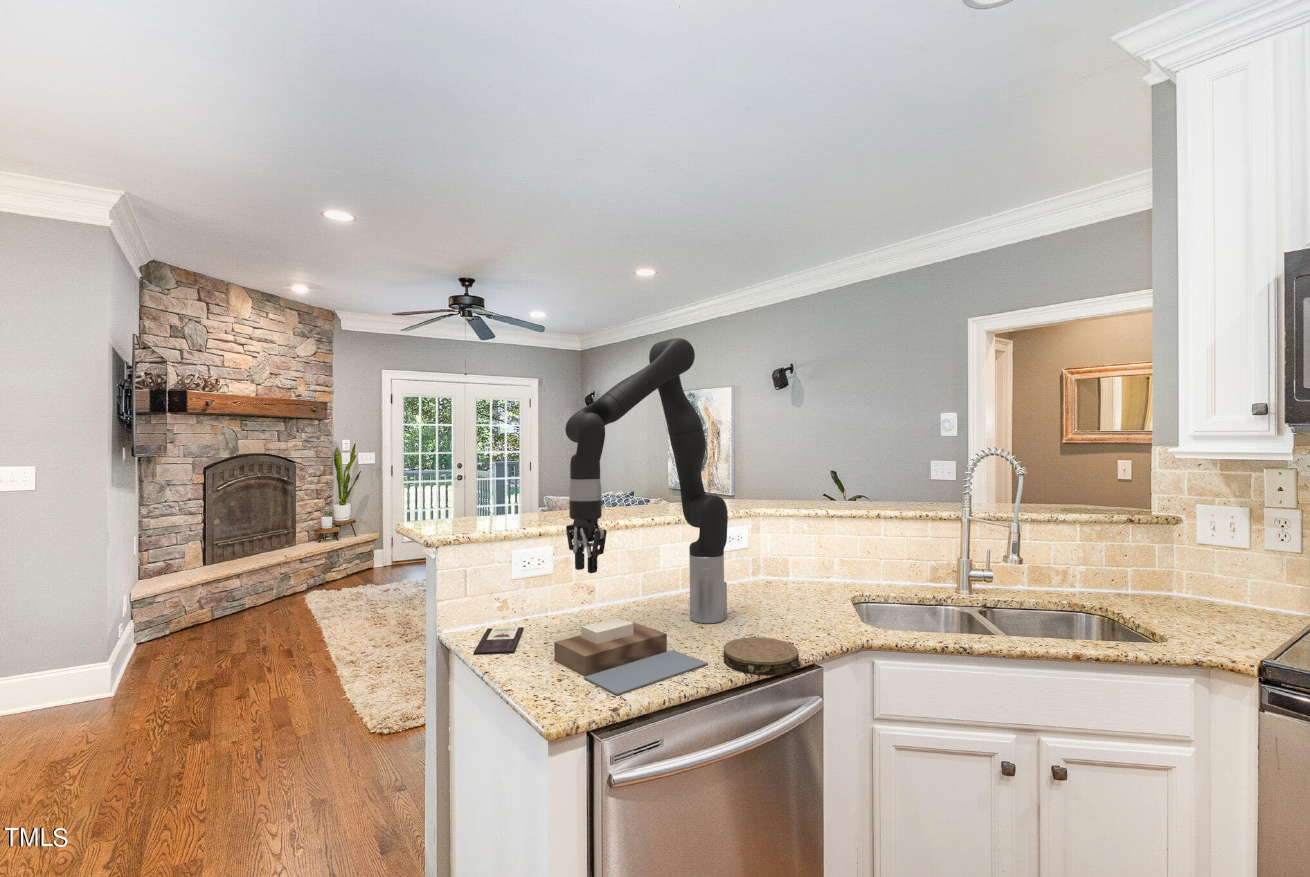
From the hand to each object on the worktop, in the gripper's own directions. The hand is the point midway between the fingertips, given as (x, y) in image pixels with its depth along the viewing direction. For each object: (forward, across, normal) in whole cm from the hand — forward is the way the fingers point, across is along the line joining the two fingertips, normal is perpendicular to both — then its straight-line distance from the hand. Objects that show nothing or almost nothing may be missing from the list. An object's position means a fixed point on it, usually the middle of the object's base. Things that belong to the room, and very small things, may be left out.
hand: (585, 570), depth 142 cm
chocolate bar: (+18, +16, +14) cm, 28 cm away
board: (+17, -10, 0) cm, 20 cm away
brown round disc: (+18, -34, -22) cm, 44 cm away
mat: (+17, -22, 0) cm, 28 cm away
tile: (+12, -8, 0) cm, 15 cm away
